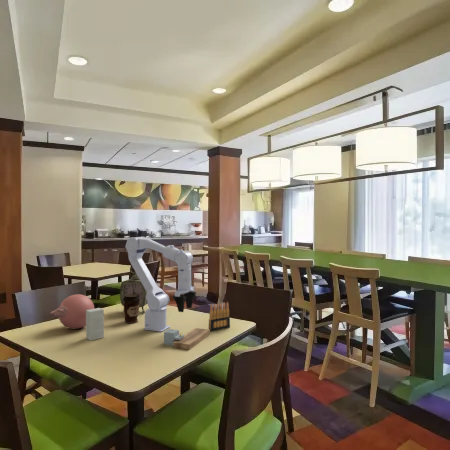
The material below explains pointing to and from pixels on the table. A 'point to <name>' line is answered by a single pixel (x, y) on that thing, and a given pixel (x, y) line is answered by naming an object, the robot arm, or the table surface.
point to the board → (191, 338)
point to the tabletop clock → (133, 289)
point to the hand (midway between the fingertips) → (185, 309)
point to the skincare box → (94, 324)
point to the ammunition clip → (219, 317)
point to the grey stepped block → (171, 336)
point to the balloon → (74, 311)
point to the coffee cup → (131, 308)
